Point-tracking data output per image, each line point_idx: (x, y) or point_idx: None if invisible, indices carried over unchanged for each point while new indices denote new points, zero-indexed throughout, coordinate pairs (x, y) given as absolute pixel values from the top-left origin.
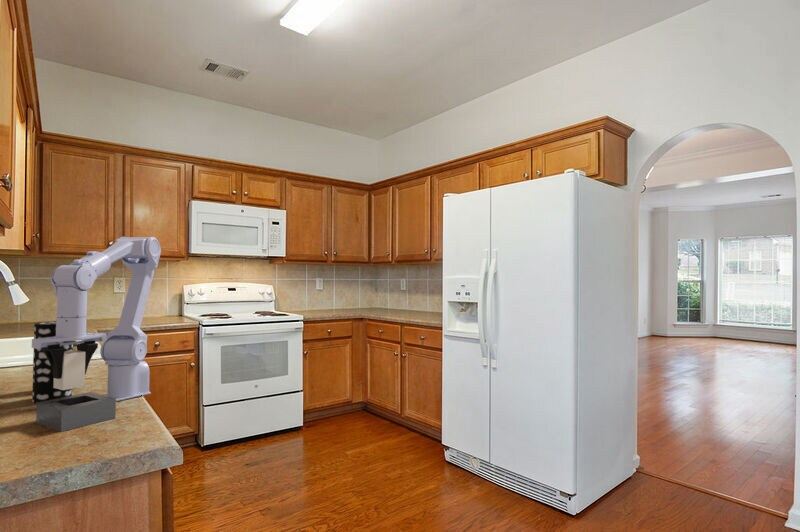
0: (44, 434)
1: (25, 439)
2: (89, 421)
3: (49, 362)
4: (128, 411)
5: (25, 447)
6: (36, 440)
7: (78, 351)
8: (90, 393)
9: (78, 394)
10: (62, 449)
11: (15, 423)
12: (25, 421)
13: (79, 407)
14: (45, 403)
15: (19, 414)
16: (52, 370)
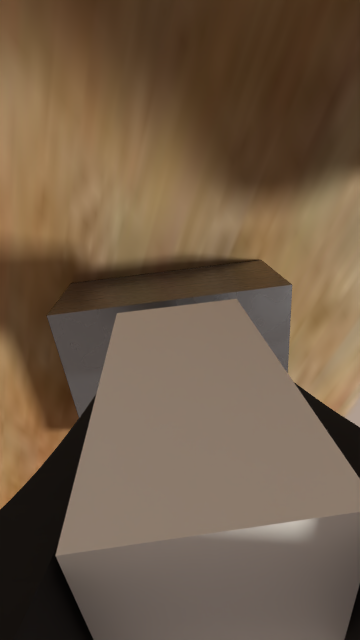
0: (71, 418)
1: (24, 426)
2: None
3: (28, 483)
4: (325, 366)
5: (19, 479)
6: (47, 450)
7: (313, 615)
8: (276, 316)
9: (234, 293)
10: None
11: (8, 222)
12: (43, 221)
13: None
14: (75, 359)
15: (32, 40)
16: (76, 426)
